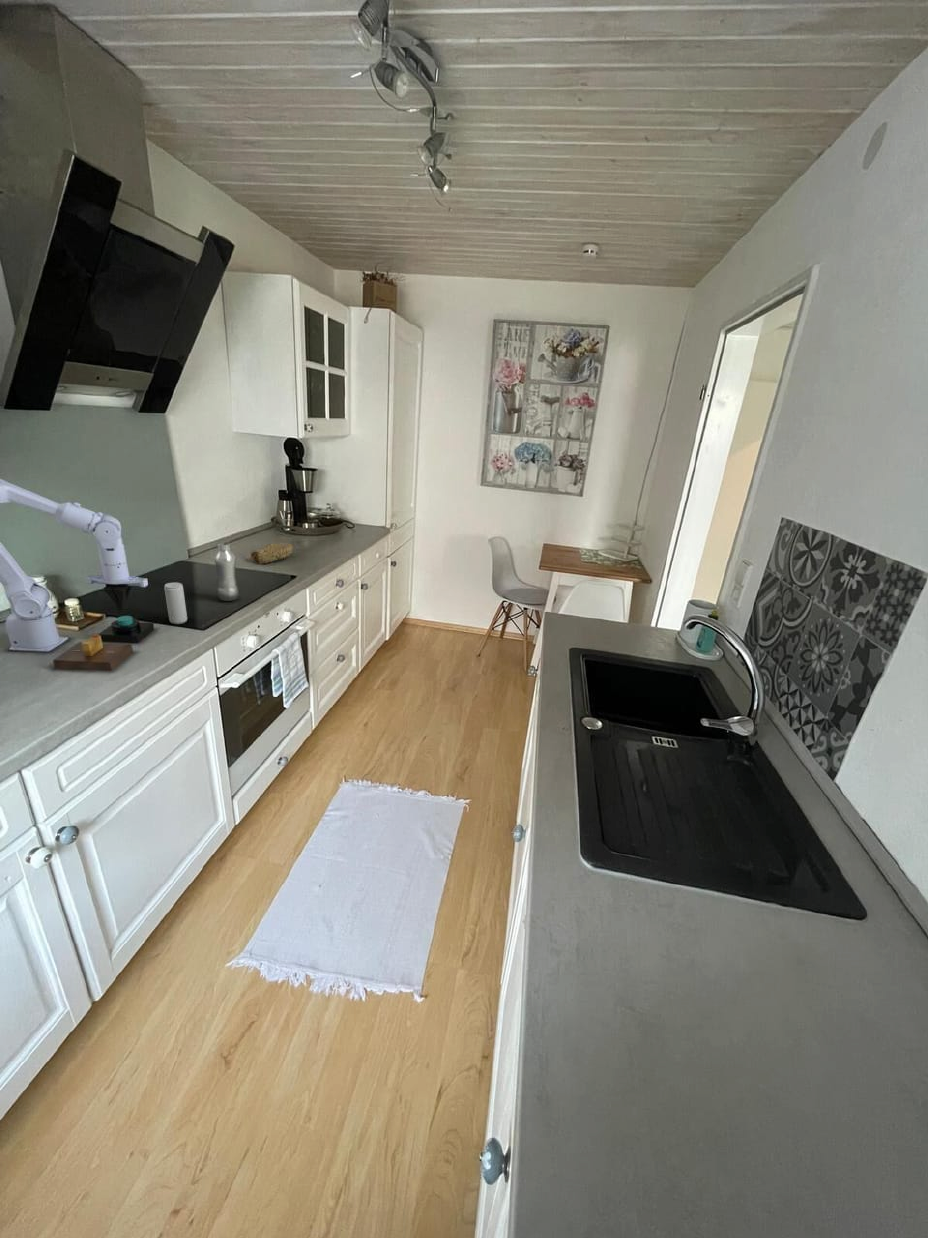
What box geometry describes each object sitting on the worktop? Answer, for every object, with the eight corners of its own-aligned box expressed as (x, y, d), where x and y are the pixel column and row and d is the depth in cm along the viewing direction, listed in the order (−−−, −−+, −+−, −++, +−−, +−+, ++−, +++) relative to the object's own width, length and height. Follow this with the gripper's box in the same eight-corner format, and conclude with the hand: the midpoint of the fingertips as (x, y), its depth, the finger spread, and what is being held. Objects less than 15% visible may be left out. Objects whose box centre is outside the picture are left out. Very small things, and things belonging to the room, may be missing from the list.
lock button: (115, 626, 135) (114, 620, 134) (122, 621, 138) (121, 615, 138) (128, 626, 136) (127, 621, 135) (135, 621, 139) (134, 616, 138)
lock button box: (99, 641, 134) (96, 628, 132) (118, 627, 142) (115, 615, 140) (138, 643, 135) (135, 630, 133) (154, 629, 143) (152, 617, 142)
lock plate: (55, 668, 119) (52, 659, 118) (81, 650, 129) (78, 641, 127) (111, 671, 121) (109, 661, 120) (133, 652, 130) (131, 643, 129)
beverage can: (179, 625, 147) (174, 588, 142) (165, 623, 148) (160, 586, 143) (191, 620, 151) (186, 583, 147) (177, 617, 152) (172, 581, 147)
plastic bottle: (213, 600, 167) (207, 543, 159) (229, 594, 173) (224, 540, 165) (228, 604, 165) (222, 547, 157) (243, 598, 171) (238, 543, 163)
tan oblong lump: (265, 569, 204) (304, 552, 217) (258, 552, 201) (298, 536, 214) (249, 566, 213) (288, 551, 226) (243, 550, 209) (282, 535, 222)
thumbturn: (91, 656, 122) (88, 643, 120) (84, 656, 121) (81, 642, 120) (103, 647, 126) (100, 634, 125) (96, 647, 126) (93, 634, 124)
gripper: (150, 559, 134) (157, 605, 140) (93, 556, 133) (103, 602, 138) (136, 567, 128) (144, 614, 133) (77, 563, 126) (87, 611, 132)
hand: (122, 608), depth 135 cm, fingers closed
